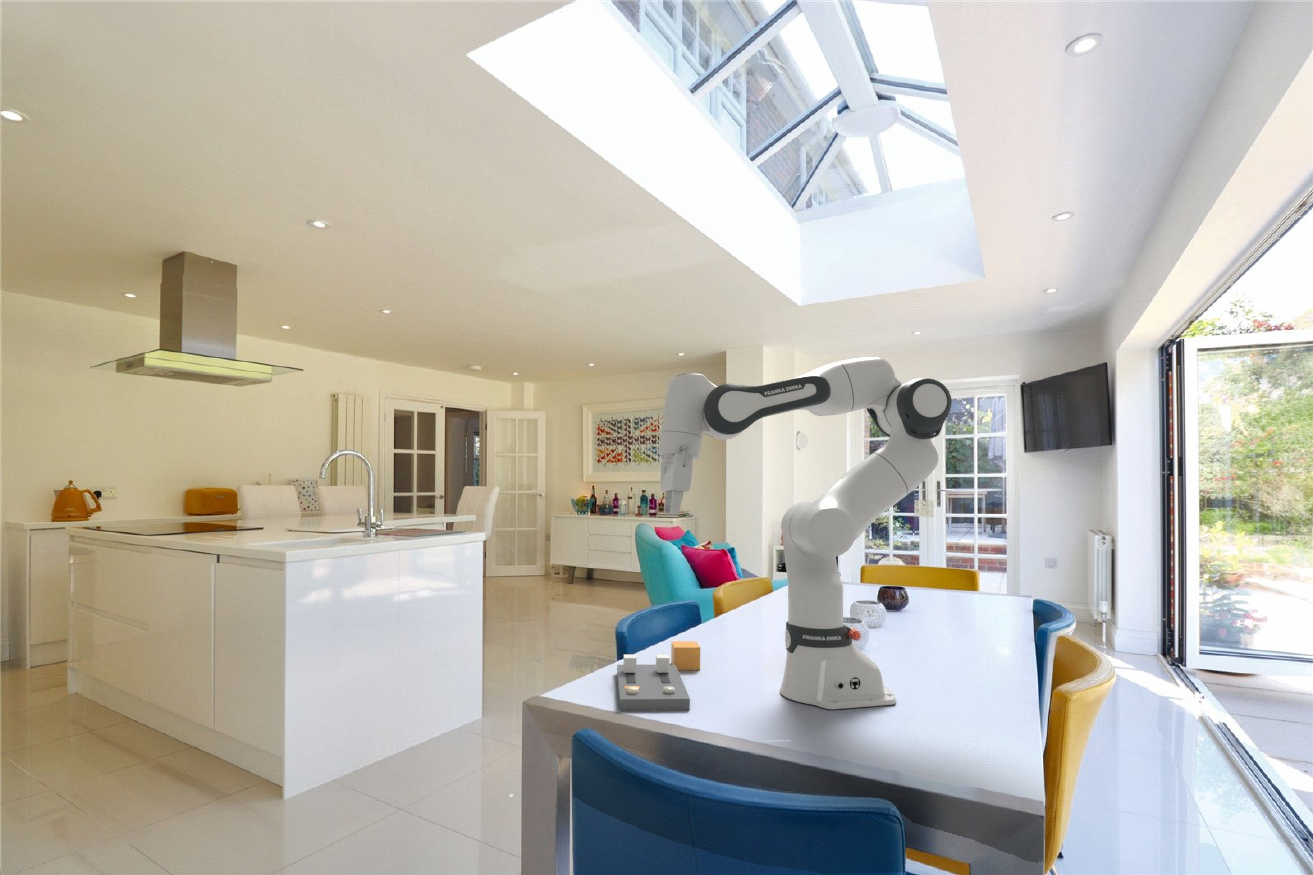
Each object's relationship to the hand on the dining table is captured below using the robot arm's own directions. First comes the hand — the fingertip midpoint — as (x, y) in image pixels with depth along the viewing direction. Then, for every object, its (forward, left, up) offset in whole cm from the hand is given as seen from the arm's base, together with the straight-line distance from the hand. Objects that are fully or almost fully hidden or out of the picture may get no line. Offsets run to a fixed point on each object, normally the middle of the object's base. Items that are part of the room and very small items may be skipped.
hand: (671, 513), depth 136 cm
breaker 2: (+1, -6, -34) cm, 34 cm away
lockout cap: (-6, -18, -36) cm, 41 cm away
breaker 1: (+8, -6, -34) cm, 35 cm away
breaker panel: (+4, 0, -36) cm, 36 cm away
